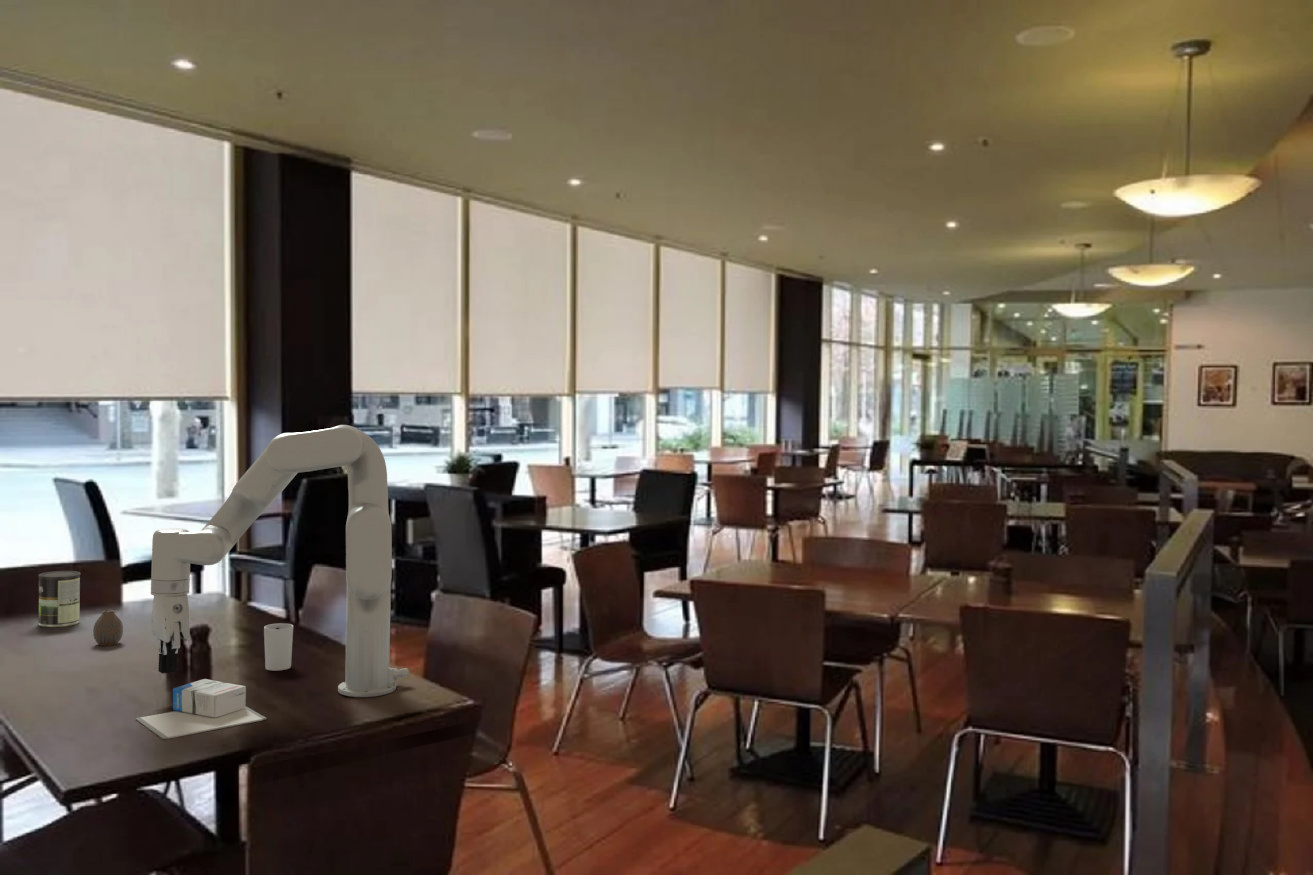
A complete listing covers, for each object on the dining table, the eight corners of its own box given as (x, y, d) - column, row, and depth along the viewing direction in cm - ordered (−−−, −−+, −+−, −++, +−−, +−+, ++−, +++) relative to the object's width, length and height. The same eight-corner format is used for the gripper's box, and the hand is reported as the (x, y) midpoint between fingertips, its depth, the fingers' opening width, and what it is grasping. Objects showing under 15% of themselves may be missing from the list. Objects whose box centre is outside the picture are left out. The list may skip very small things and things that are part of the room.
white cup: (257, 668, 254) (257, 627, 253) (279, 662, 260) (279, 622, 259) (277, 672, 251) (277, 630, 250) (298, 666, 256) (299, 625, 256)
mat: (235, 701, 226) (235, 700, 226) (266, 719, 214) (266, 718, 214) (135, 719, 212) (135, 718, 212) (163, 739, 201) (163, 738, 201)
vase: (107, 648, 270) (107, 614, 270) (86, 645, 272) (87, 612, 272) (129, 642, 276) (129, 609, 276) (108, 640, 279) (108, 607, 278)
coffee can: (36, 628, 290) (36, 577, 290) (40, 621, 299) (40, 571, 299) (78, 625, 294) (79, 575, 294) (81, 618, 304) (81, 569, 303)
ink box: (171, 710, 217) (214, 719, 213) (172, 686, 217) (214, 695, 212) (205, 700, 225) (246, 709, 220) (205, 677, 225) (247, 685, 220)
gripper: (201, 590, 223) (198, 677, 223) (176, 580, 234) (173, 662, 234) (164, 593, 218) (161, 682, 218) (140, 582, 228) (137, 667, 229)
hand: (167, 671), depth 226 cm, fingers closed
